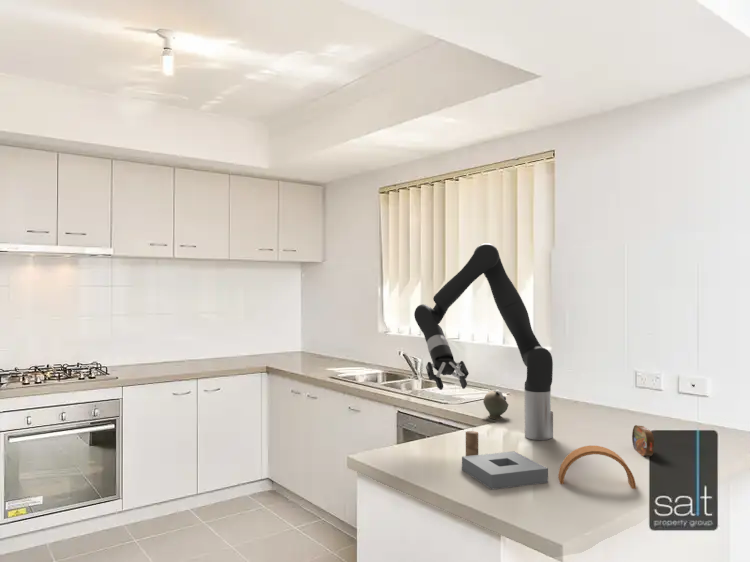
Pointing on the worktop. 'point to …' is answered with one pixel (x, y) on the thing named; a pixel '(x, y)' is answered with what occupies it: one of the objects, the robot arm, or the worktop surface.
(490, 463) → the socket block
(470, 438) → the peg
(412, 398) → the worktop surface
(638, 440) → the tin
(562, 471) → the arch
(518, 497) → the worktop surface
